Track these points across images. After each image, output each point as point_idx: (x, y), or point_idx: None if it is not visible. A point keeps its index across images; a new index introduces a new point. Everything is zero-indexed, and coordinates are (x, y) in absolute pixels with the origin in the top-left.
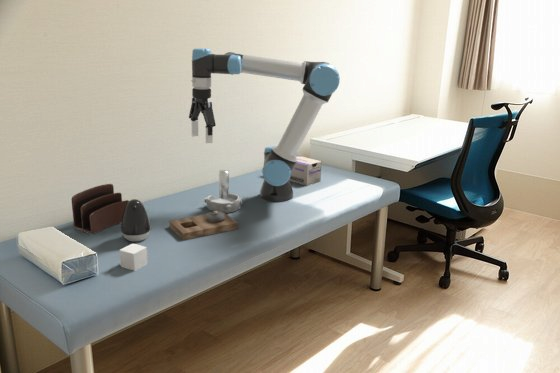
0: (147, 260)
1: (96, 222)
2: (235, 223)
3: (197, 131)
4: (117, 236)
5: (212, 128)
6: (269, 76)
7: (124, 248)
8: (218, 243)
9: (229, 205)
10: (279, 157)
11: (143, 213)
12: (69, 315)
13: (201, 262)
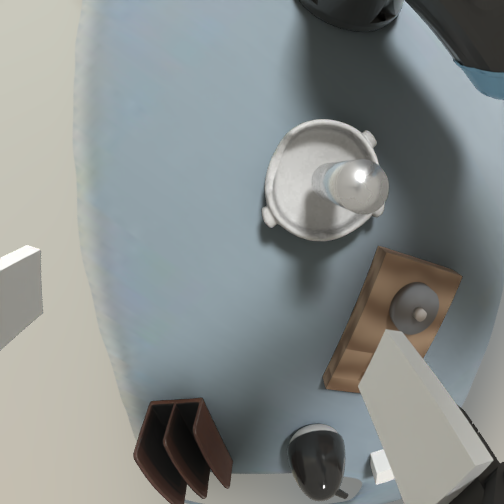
0: None
1: (227, 468)
2: (459, 282)
3: (8, 276)
4: (274, 445)
5: (481, 444)
6: None
7: (378, 481)
8: (452, 341)
9: None
10: None
11: (343, 472)
12: (398, 497)
13: (459, 393)
